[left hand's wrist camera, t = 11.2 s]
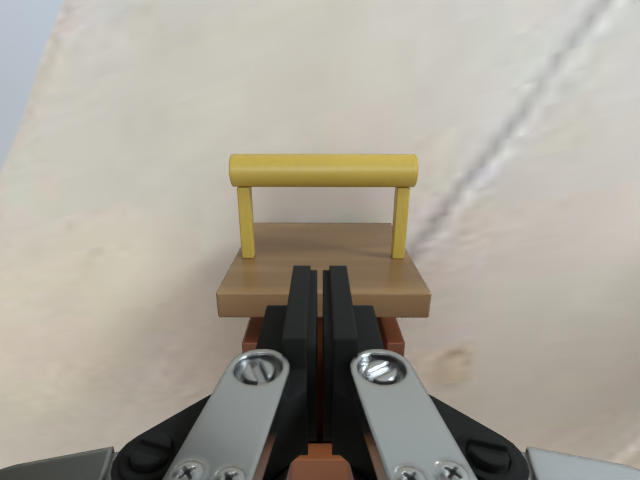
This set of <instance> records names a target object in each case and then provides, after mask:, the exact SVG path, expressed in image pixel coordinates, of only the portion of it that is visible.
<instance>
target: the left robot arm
mask: <svg viewBox="0 0 640 480" xmlns="http://www.w3.org/2000/svg"><path fill="white" fill-rule="evenodd" d="M308 441H317V270H311V266H293V272H292V278H291V284H290V290H289V297H288V303H287V305H267V307H266V311H265V315H264V319H263V322H262V326H261V330H260V334H259V338H258V342H257V346H256V349H255V350H251V351H247V352H245V353H242V354H240V355H239V356H237V357H236V358H234V359H233V360H232V361H231V363H230V364H229V365H228V367H227V369H226V370H225V372H224V374H223V375H222V377H221V379H220V381H219V382H218V384H217V386H216V388H215V389H214V391H213V393H212V394H211V395H209V396H207V397H205V398H204V399H202V400H200V401H198V402H197V403H195V404H193V405H191V406H190V407H188V408H186V409H184V410H183V411H181V412H179V413H177V414H176V415H174V416H172V417H170V418H169V419H167V420H165V421H163V422H162V423H160V424H158V425H156V426H155V427H153V428H151V429H149V430H148V431H146V432H144V433H142V434H141V435H139V436H137V437H136V438H134V439H133V440H132V441H130V442H129V443H127V444H126V445H125V446H124V447H123V448H122V450H121V451H120V452H114V448H113V447H108V448H102V449H97V450H92V451H86V452H81V453H76V454H70V455H65V456H60V457H54V458H49V459H44V460H38V461H33V462H28V463H22V464H17V465H13V466H10V467H7V468H4V469H1V470H0V480H291V479H292V474H293V461H294V460H295V459H296V458H297V457H299V456H300V455H308ZM323 441H332V455H340V456H341V457H343V458H344V459H345V460H346V461H347V474H348V479H349V480H640V470H639V469H636V468H633V467H630V466H627V465H623V464H618V463H612V462H607V461H602V460H596V459H591V458H586V457H580V456H575V455H570V454H564V453H559V452H554V451H548V450H543V449H538V448H532V447H527V448H526V452H520V451H519V450H518V448H517V447H516V446H515V445H514V444H513V443H511V442H510V441H508V440H507V439H506V438H504V437H503V436H501V435H499V434H498V433H496V432H494V431H492V430H491V429H489V428H487V427H485V426H484V425H482V424H480V423H478V422H477V421H475V420H473V419H471V418H470V417H468V416H466V415H464V414H463V413H461V412H459V411H457V410H456V409H454V408H452V407H450V406H449V405H447V404H445V403H443V402H442V401H440V400H438V399H436V398H435V397H433V396H431V395H429V394H428V393H427V391H426V389H425V388H424V386H423V384H422V382H421V381H420V379H419V377H418V375H417V374H416V372H415V370H414V369H413V367H412V365H411V364H410V363H409V361H408V360H407V359H406V358H404V357H403V356H401V355H400V354H398V353H395V352H393V351H389V350H385V349H384V346H383V342H382V338H381V334H380V330H379V326H378V322H377V319H376V315H375V311H374V307H373V305H353V303H352V297H351V290H350V284H349V278H348V272H347V266H329V270H323Z"/></svg>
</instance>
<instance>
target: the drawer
mask: <svg viewBox="0 0 640 480" xmlns="http://www.w3.org/2000/svg"><path fill="white" fill-rule="evenodd" d="M229 176H230V181H231V184H232V186H234V187H238V188H237V194H238V208H239V222H240V235H241V248H240V250H239V252H238V254H237V256H236V257H235V259H234V261H233V263H232V265H231V267H230V269H229V270H228V272H227V274H226V276H225V278H224V280H223V282H222V283H221V285H220V287H219V289H218V291H217V293H216V296H217V306H218V315H219V317H250V320H249V323H248V326H247V329H246V332H245V336H244V339H243V342H242V350H243V353H245V352H247V351H251V350H255V349H256V346H257V342H258V338H259V334H260V330H261V326H262V322H263V319H264V315H265V311H266V307H267V305H287V303H288V297H289V290H290V284H291V278H292V272H293V266H311V270H317V441H308V443H332V441H323V270H329V266H347V272H348V278H349V284H350V290H351V297H352V303H353V305H373V307H374V311H375V315H376V319H377V322H378V326H379V330H380V334H381V338H382V342H383V346H384V349H385V350H389V351H393V352H395V353H398V354H400V355H401V356H403V357H404V348H405V342H404V340H403V337H402V334H401V331H400V328H399V325H398V322H397V320H396V317H428V316H429V310H430V301H431V292H430V290H429V289H428V287H427V285H426V284H425V282H424V280H423V278H422V277H421V275H420V273H419V271H418V270H417V268H416V266H415V265H414V263H413V261H412V259H411V258H410V256H409V254H408V252H407V251H406V249H405V242H406V230H407V218H408V206H409V194H410V188H409V187H414V186H415V185H416V182H417V178H418V159H417V156H416V155H415V154H232V155H231V156H230V161H229ZM251 187H395V199H394V213H393V227H392V225H391V223H253V206H252V189H251Z"/></svg>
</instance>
